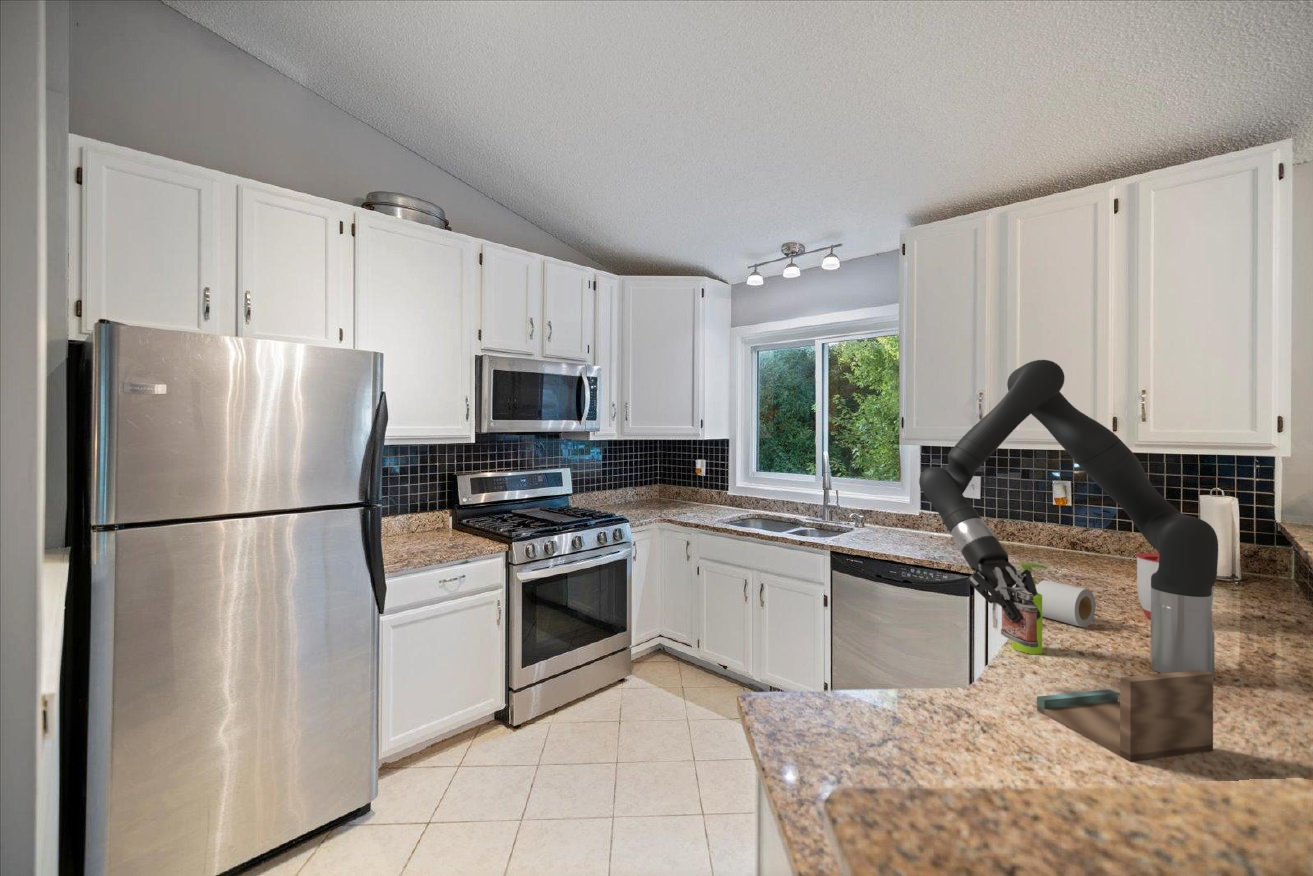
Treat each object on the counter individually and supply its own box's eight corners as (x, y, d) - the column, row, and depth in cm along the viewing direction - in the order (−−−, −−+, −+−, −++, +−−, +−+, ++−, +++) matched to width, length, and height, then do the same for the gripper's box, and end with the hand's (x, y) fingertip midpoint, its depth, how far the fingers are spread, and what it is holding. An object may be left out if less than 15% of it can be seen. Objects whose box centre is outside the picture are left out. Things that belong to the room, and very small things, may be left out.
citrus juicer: (1153, 628, 143) (1153, 551, 143) (1125, 609, 159) (1125, 540, 159) (1232, 636, 137) (1232, 556, 137) (1195, 616, 153) (1195, 544, 154)
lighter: (996, 632, 111) (995, 583, 111) (1012, 632, 111) (1011, 583, 111) (1026, 647, 103) (1025, 594, 103) (1043, 647, 103) (1042, 594, 103)
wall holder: (1109, 702, 101) (1109, 637, 101) (1213, 750, 86) (1213, 673, 86) (1036, 710, 98) (1037, 643, 98) (1130, 761, 82) (1130, 681, 82)
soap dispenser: (1052, 656, 124) (1052, 567, 124) (1018, 653, 125) (1018, 565, 125) (1039, 646, 129) (1039, 561, 129) (1007, 644, 131) (1007, 560, 131)
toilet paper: (1095, 624, 146) (1095, 587, 146) (1074, 630, 141) (1074, 591, 141) (1054, 614, 155) (1054, 578, 155) (1033, 618, 150) (1033, 582, 150)
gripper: (958, 535, 113) (1007, 612, 101) (1016, 533, 116) (1071, 608, 104) (940, 556, 118) (985, 632, 106) (996, 553, 121) (1046, 626, 109)
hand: (1027, 619), depth 105 cm, fingers closed on lighter, 3 cm apart
